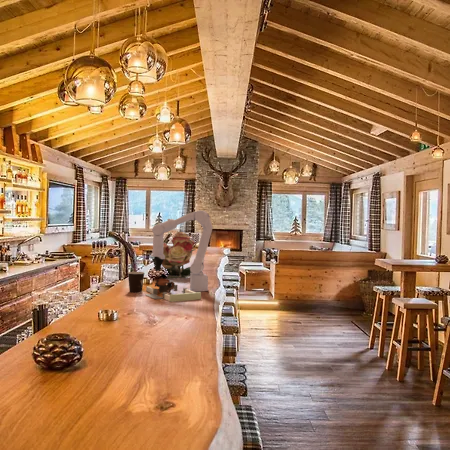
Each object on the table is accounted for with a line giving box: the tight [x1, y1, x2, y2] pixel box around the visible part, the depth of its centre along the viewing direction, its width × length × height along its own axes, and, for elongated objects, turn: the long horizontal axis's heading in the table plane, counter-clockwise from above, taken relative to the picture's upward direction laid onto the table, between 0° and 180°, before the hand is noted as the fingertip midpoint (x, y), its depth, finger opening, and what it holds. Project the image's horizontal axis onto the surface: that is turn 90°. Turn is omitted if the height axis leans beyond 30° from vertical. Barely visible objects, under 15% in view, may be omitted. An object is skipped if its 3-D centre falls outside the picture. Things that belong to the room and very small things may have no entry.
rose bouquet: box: [161, 230, 197, 280], centre depth 297 cm, size 26×29×30 cm
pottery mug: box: [154, 278, 176, 294], centre depth 236 cm, size 12×10×8 cm
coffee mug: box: [127, 271, 145, 294], centre depth 237 cm, size 12×9×10 cm
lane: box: [145, 284, 202, 303], centre depth 229 cm, size 24×31×3 cm
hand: (157, 270), depth 246 cm, fingers closed
